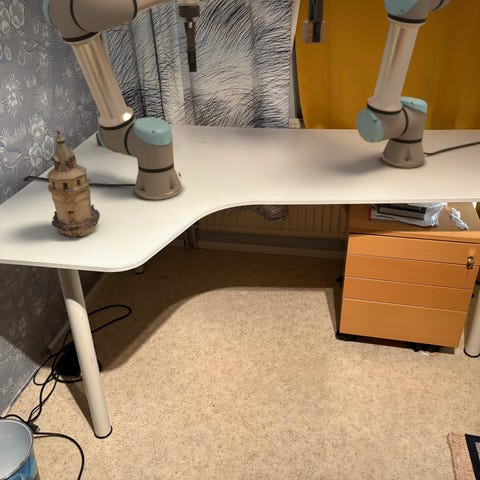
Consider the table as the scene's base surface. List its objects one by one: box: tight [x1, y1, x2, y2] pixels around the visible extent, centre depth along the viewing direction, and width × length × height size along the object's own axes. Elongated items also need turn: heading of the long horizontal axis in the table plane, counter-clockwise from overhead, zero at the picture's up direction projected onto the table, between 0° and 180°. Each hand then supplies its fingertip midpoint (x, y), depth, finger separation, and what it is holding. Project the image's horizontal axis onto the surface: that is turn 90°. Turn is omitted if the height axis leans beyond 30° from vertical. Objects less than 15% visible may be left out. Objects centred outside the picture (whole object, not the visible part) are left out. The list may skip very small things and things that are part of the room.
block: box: [301, 19, 327, 45], centre depth 203 cm, size 7×8×7 cm
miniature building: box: [45, 129, 101, 237], centre depth 148 cm, size 13×14×30 cm
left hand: (192, 67), depth 195 cm, fingers open, 13 cm apart
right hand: (313, 40), depth 204 cm, fingers closed on block, 7 cm apart
